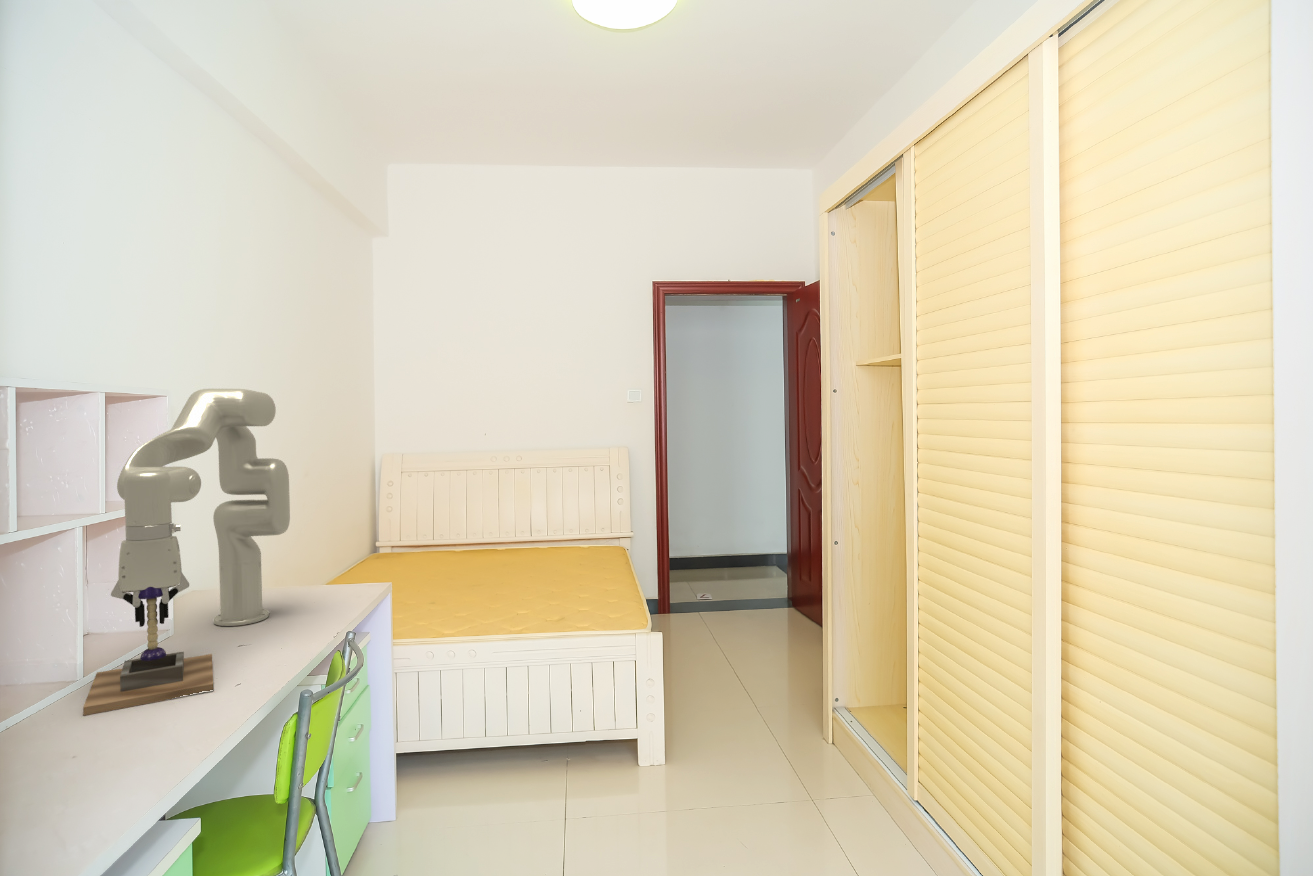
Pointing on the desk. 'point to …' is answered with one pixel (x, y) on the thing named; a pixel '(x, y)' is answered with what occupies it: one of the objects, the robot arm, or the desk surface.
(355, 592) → the desk surface
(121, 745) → the desk surface
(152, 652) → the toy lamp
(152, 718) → the desk surface
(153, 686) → the socket board
